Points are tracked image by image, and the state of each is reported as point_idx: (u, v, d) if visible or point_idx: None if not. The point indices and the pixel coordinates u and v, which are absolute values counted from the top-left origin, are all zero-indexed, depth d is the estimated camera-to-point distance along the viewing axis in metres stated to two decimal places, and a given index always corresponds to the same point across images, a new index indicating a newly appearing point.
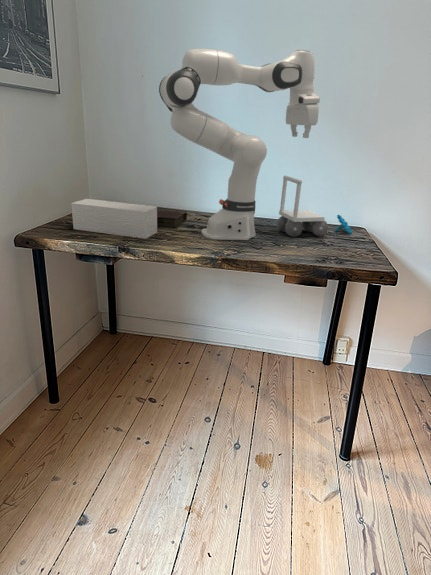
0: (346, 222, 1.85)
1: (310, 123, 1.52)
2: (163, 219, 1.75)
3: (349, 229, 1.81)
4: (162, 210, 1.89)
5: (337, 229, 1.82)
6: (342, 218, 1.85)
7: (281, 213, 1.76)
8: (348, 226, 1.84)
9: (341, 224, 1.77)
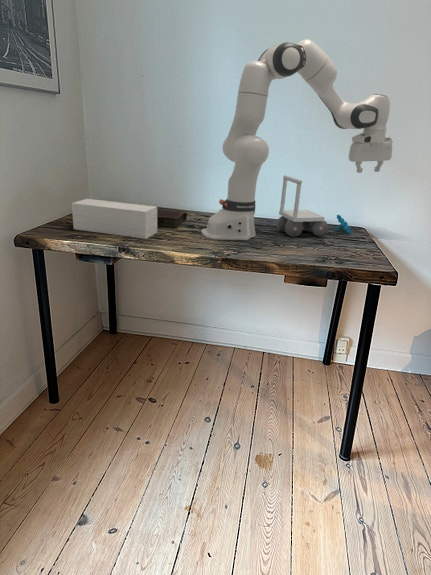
0: (346, 222, 1.85)
1: (349, 159, 1.71)
2: (163, 219, 1.75)
3: (349, 229, 1.81)
4: (162, 210, 1.89)
5: (337, 229, 1.83)
6: (342, 218, 1.85)
7: (281, 213, 1.76)
8: (348, 226, 1.84)
9: (340, 224, 1.77)
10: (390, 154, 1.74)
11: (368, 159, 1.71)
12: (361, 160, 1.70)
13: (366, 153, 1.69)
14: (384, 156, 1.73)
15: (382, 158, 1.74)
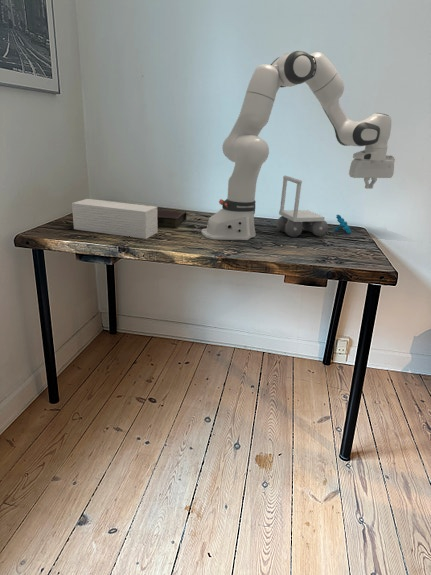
0: (346, 222, 1.85)
1: None
2: (163, 219, 1.75)
3: (348, 229, 1.81)
4: (162, 210, 1.89)
5: (336, 229, 1.83)
6: (342, 218, 1.85)
7: (281, 213, 1.76)
8: (347, 226, 1.84)
9: (340, 224, 1.78)
10: (391, 172, 1.77)
11: (369, 176, 1.74)
12: (361, 176, 1.73)
13: (366, 169, 1.73)
14: (385, 174, 1.76)
15: (383, 176, 1.76)
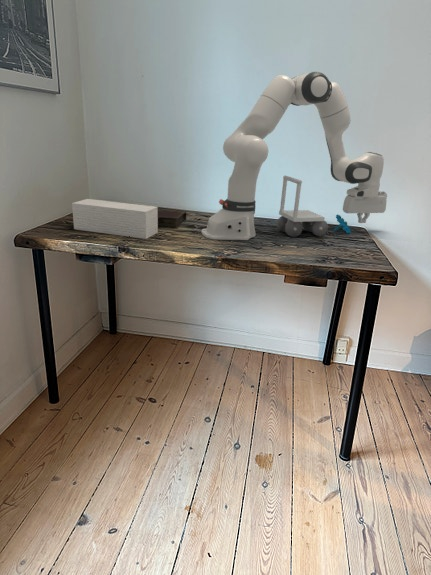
0: (346, 222, 1.85)
1: (343, 210, 1.80)
2: (164, 219, 1.75)
3: (348, 229, 1.81)
4: (161, 210, 1.89)
5: (336, 229, 1.83)
6: (342, 218, 1.85)
7: (281, 213, 1.76)
8: (347, 226, 1.84)
9: (339, 224, 1.78)
10: (384, 207, 1.82)
11: (362, 211, 1.80)
12: (354, 212, 1.79)
13: (359, 205, 1.78)
14: (378, 209, 1.82)
15: (376, 211, 1.82)
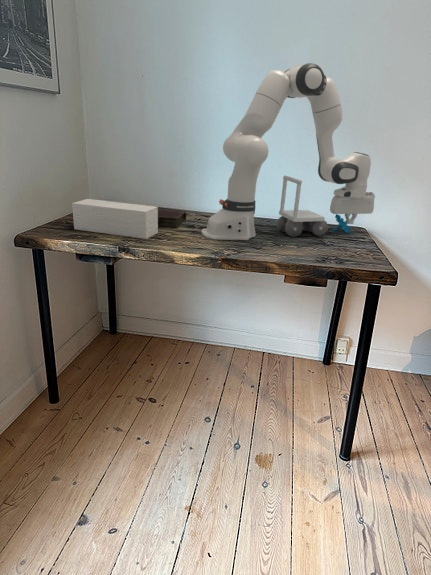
0: (345, 222, 1.85)
1: (330, 211, 1.78)
2: (164, 219, 1.75)
3: (347, 229, 1.81)
4: (161, 210, 1.89)
5: (335, 228, 1.83)
6: (341, 218, 1.85)
7: (281, 213, 1.76)
8: (347, 226, 1.84)
9: None
10: (371, 208, 1.80)
11: (349, 212, 1.78)
12: (341, 213, 1.77)
13: (346, 206, 1.76)
14: (365, 210, 1.80)
15: (364, 212, 1.80)
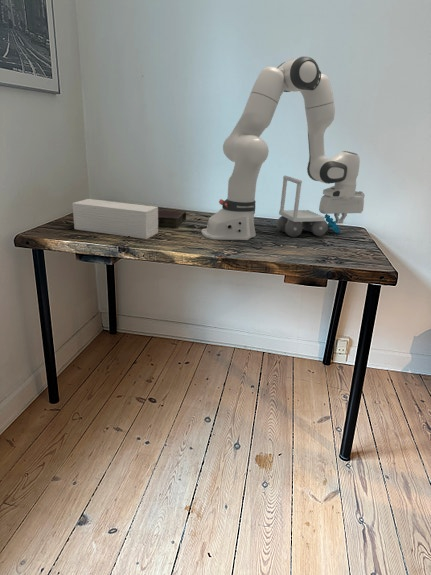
0: None
1: (319, 210, 1.77)
2: (164, 219, 1.75)
3: (337, 229, 1.81)
4: (161, 210, 1.89)
5: None
6: (331, 218, 1.85)
7: (281, 213, 1.76)
8: (336, 226, 1.83)
9: (328, 223, 1.77)
10: (361, 207, 1.79)
11: (338, 212, 1.76)
12: (331, 212, 1.75)
13: (335, 206, 1.75)
14: (355, 209, 1.78)
15: (353, 211, 1.78)
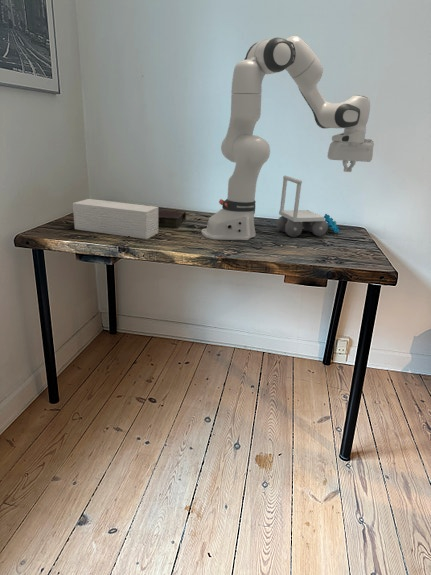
0: (334, 222, 1.85)
1: (328, 157, 1.75)
2: (164, 219, 1.75)
3: (336, 228, 1.81)
4: (161, 210, 1.89)
5: None
6: None
7: (281, 213, 1.76)
8: (336, 226, 1.83)
9: (327, 223, 1.77)
10: (370, 156, 1.77)
11: (347, 159, 1.74)
12: (339, 159, 1.74)
13: (344, 152, 1.73)
14: (364, 157, 1.76)
15: (362, 159, 1.76)
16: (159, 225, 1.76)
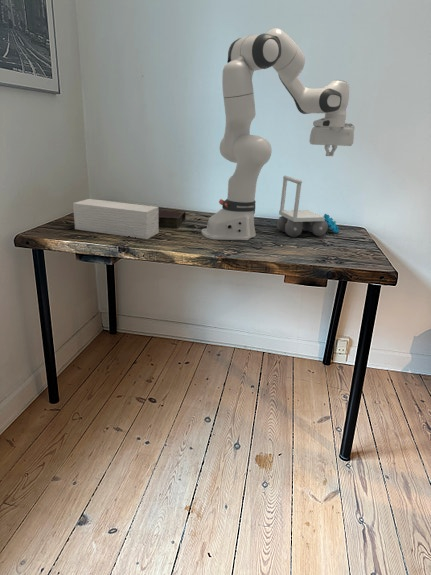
0: (334, 222, 1.85)
1: (310, 142, 1.79)
2: (164, 219, 1.75)
3: (336, 228, 1.81)
4: (161, 210, 1.88)
5: None
6: None
7: (281, 213, 1.76)
8: (336, 226, 1.83)
9: None
10: (351, 140, 1.81)
11: (328, 143, 1.78)
12: (321, 143, 1.77)
13: (325, 136, 1.77)
14: (345, 141, 1.80)
15: (343, 143, 1.80)
16: (159, 225, 1.76)
